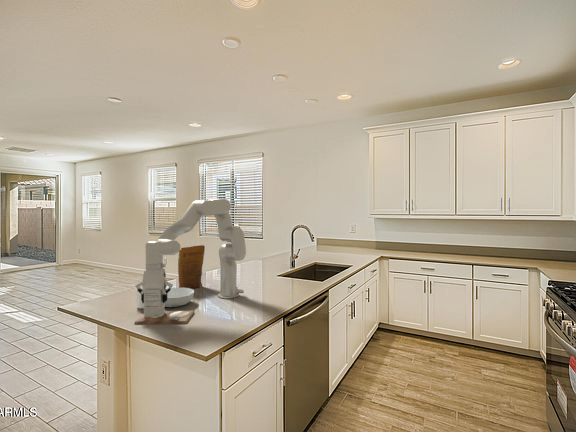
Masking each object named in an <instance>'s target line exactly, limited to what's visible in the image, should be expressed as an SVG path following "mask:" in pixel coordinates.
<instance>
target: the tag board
mask: <svg viewBox="0 0 576 432" xmlns="http://www.w3.org/2000/svg"><path fill="white" fill-rule="evenodd" d="M194 314H195V310H165V312H164V313H163V314H162V315H161V316H160V317H144V313H143V314H142V315H141V316H139V317H138V318H137V319H136V320H134V325H168V324H169V325H173V324H175V325H176V324H178V325H180V324H183V325H184V324H187V323H188V322H189V321H190V319H191V318H192V316H194Z"/></svg>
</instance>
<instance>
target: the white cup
mask: <svg viewBox="0 0 576 432" xmlns="http://www.w3.org/2000/svg"><path fill="white" fill-rule="evenodd" d="M140 288H141V289H142V290H143V288H142V286H140ZM135 302H136V308H137V309H144V303H142V301H141V294H140V293H139V292H138V291H137V288H136V287H135Z"/></svg>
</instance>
